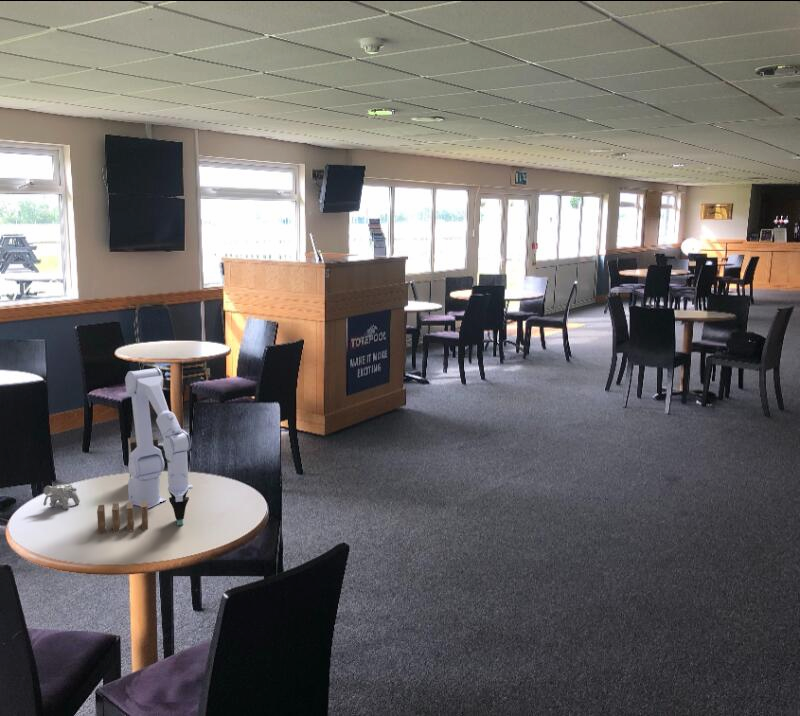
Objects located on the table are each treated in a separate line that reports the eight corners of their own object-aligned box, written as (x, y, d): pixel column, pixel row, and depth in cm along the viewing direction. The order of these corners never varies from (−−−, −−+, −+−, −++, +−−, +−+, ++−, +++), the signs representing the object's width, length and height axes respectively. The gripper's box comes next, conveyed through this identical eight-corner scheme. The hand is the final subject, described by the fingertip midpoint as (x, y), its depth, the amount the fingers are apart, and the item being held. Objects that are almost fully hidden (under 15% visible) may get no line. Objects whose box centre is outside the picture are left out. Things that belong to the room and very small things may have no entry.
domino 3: (127, 531, 222) (126, 508, 221) (128, 524, 227) (127, 502, 225) (133, 530, 222) (132, 508, 221) (134, 523, 227) (132, 501, 226)
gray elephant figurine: (82, 502, 244) (81, 479, 243) (68, 515, 232) (66, 490, 231) (53, 502, 243) (52, 479, 242) (37, 515, 231) (36, 491, 230)
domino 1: (98, 534, 220) (97, 511, 218) (99, 527, 224) (98, 505, 223) (104, 533, 220) (102, 510, 219) (105, 526, 225) (104, 504, 223)
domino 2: (113, 532, 221) (111, 510, 219) (114, 525, 225) (112, 503, 224) (119, 532, 221) (117, 509, 220) (119, 525, 226) (118, 503, 225)
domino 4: (142, 529, 223) (141, 507, 222) (142, 523, 228) (141, 501, 226) (147, 529, 224) (146, 506, 222) (148, 522, 228) (147, 500, 227)
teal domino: (177, 525, 226) (176, 503, 225) (177, 518, 231) (176, 497, 229) (182, 524, 226) (182, 502, 225) (182, 518, 231) (181, 496, 230)
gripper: (192, 479, 220) (194, 523, 223) (190, 463, 234) (192, 505, 236) (167, 482, 218) (169, 526, 221) (167, 465, 231) (168, 507, 234)
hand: (179, 515), depth 228 cm, fingers closed on teal domino, 5 cm apart
